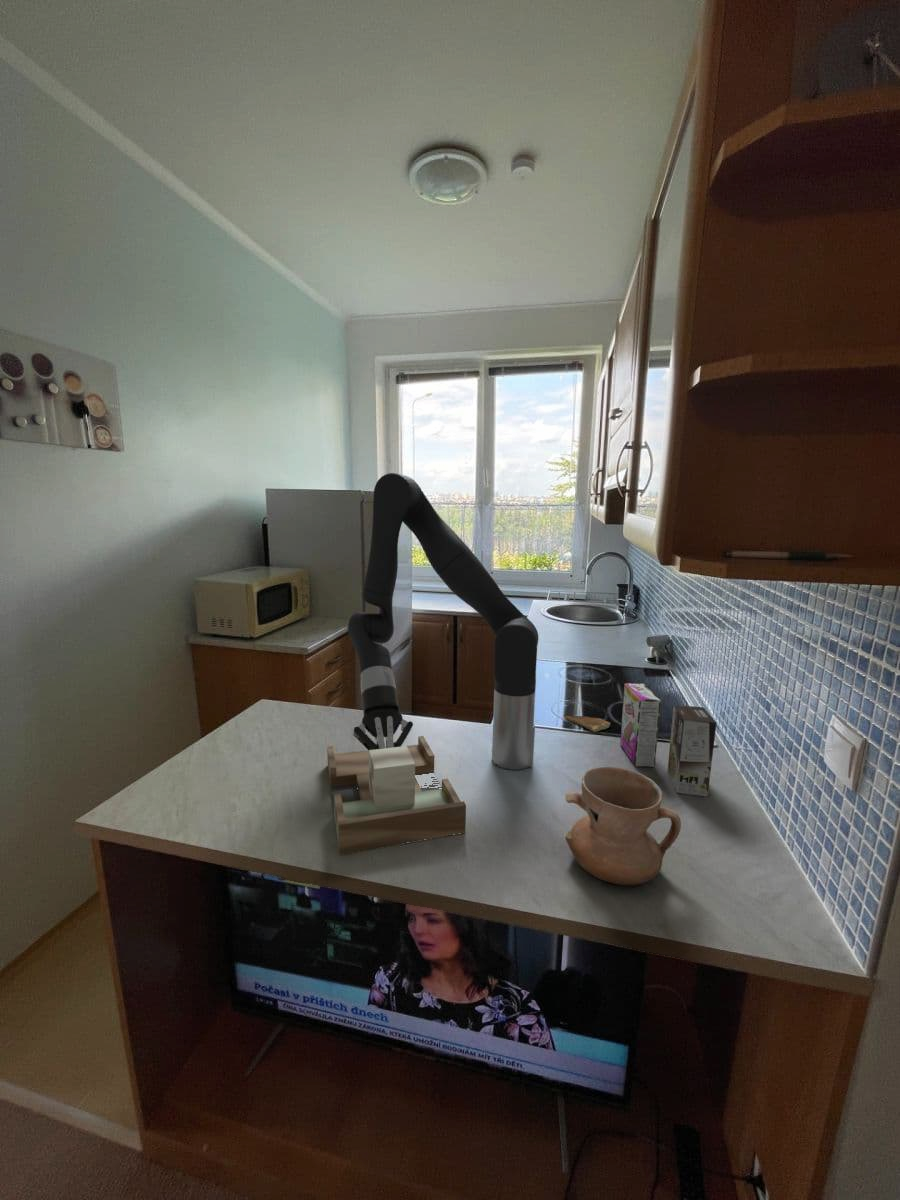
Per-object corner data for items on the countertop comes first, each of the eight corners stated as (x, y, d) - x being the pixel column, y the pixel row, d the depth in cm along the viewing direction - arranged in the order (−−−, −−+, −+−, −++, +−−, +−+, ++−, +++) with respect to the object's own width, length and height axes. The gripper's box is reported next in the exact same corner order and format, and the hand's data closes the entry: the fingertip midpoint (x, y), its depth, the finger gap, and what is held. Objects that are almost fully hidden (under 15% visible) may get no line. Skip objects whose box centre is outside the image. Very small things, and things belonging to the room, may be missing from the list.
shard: (563, 720, 142) (563, 714, 142) (582, 714, 146) (583, 708, 146) (593, 734, 133) (593, 728, 133) (612, 728, 137) (613, 722, 137)
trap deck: (327, 765, 113) (327, 742, 112) (423, 753, 119) (423, 732, 118) (339, 855, 83) (339, 824, 82) (465, 833, 90) (466, 805, 89)
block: (369, 788, 99) (368, 750, 98) (406, 783, 101) (406, 745, 100) (374, 809, 92) (374, 768, 91) (414, 803, 94) (415, 763, 93)
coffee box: (709, 797, 103) (717, 723, 100) (675, 793, 104) (683, 719, 102) (697, 775, 112) (704, 706, 109) (666, 771, 113) (673, 703, 110)
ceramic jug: (558, 883, 78) (565, 800, 75) (561, 827, 92) (568, 755, 89) (683, 910, 74) (696, 823, 71) (667, 847, 88) (677, 772, 85)
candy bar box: (618, 745, 126) (623, 682, 123) (638, 746, 126) (644, 683, 123) (633, 767, 115) (639, 699, 112) (655, 768, 115) (662, 699, 112)
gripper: (349, 686, 105) (356, 769, 96) (411, 681, 109) (423, 760, 99) (347, 701, 111) (353, 780, 101) (405, 696, 115) (417, 772, 105)
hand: (388, 770), depth 100 cm, fingers closed
